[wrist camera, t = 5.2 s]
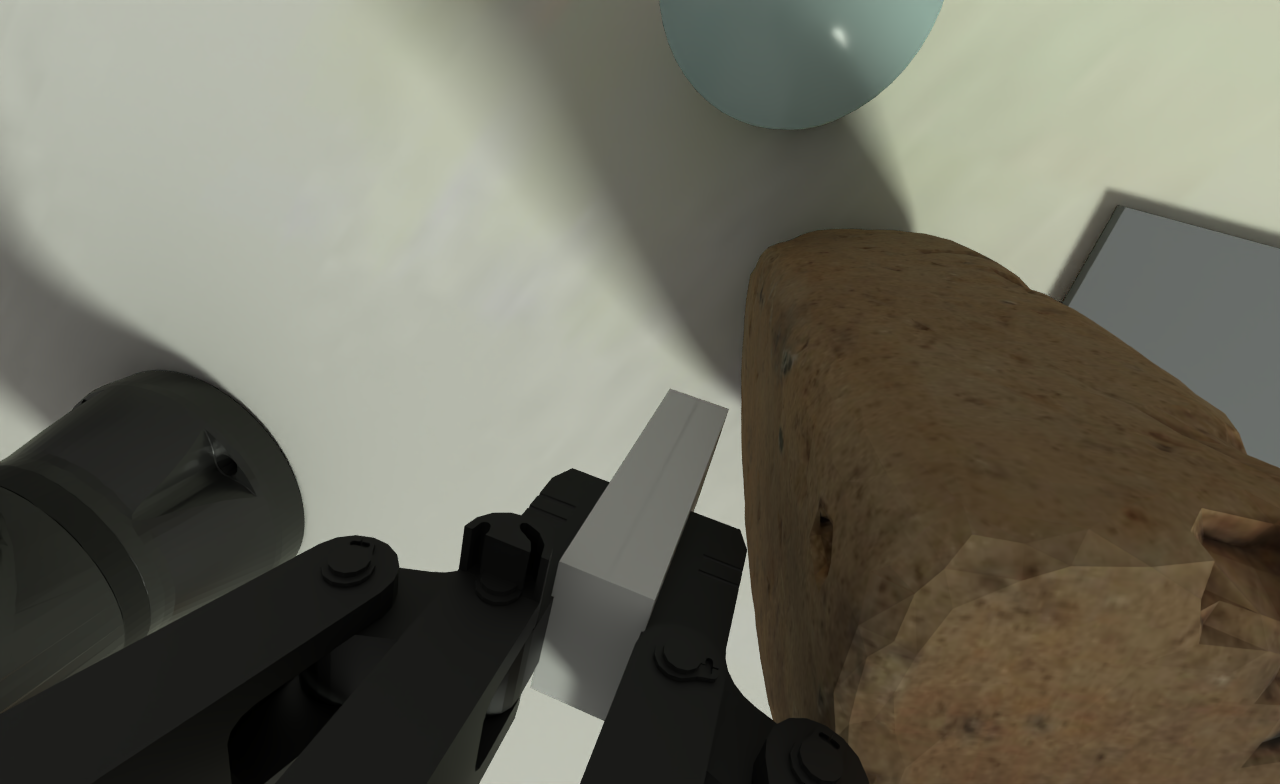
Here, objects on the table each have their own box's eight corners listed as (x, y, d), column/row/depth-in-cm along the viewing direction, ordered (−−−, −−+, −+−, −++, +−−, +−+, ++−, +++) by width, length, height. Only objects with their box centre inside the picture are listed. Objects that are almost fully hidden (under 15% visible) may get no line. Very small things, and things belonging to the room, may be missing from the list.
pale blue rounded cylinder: (685, 103, 24) (631, 91, 17) (740, -116, 21) (701, -240, 14) (861, 151, 23) (881, 160, 16) (945, -71, 20) (1014, -179, 13)
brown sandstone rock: (751, 209, 24) (853, 495, 6) (952, 219, 23) (1754, 576, 5) (726, 452, 29) (741, 1039, 10) (894, 466, 28) (1222, 1121, 10)
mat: (921, 549, 29) (924, 556, 28) (1118, 204, 22) (1125, 207, 21) (1317, 689, 27) (1327, 700, 26) (1675, 355, 20) (1699, 362, 19)
